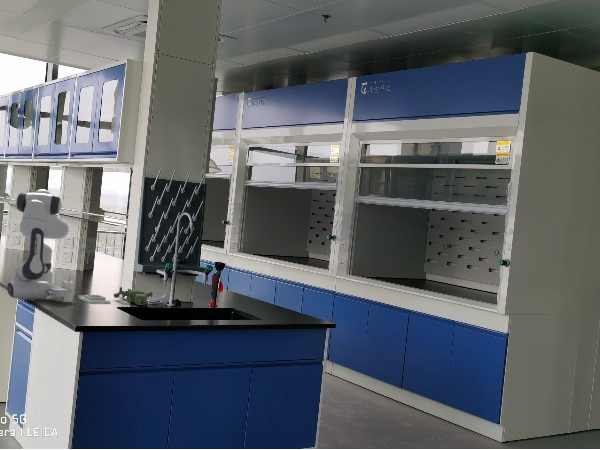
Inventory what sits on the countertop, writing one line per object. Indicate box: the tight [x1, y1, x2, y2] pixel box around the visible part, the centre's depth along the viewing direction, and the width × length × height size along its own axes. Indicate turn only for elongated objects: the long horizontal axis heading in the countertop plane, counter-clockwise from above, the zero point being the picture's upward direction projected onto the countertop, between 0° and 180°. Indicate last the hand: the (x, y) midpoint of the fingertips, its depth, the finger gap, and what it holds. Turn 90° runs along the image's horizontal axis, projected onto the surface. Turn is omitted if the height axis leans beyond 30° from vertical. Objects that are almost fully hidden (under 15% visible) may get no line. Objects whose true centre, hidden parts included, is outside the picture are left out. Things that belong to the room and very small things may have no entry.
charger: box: [59, 280, 75, 303], centre depth 347 cm, size 4×4×10 cm
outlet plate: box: [78, 294, 111, 304], centre depth 358 cm, size 14×11×3 cm
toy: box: [113, 286, 154, 305], centre depth 372 cm, size 21×8×30 cm
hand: (68, 290), depth 348 cm, fingers closed on charger, 4 cm apart
